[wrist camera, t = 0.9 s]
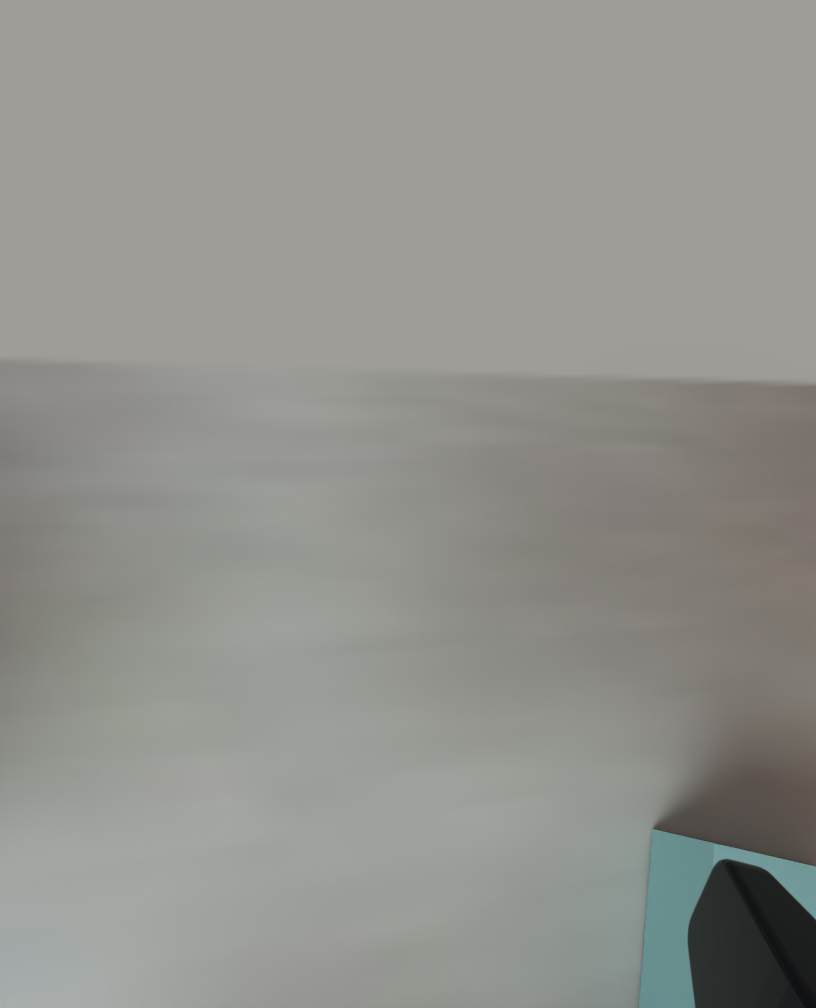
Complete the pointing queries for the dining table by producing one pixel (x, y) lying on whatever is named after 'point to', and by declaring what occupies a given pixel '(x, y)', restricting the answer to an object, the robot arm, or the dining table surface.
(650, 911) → the teal labeled box
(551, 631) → the dining table surface
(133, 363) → the dining table surface
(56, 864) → the dining table surface
